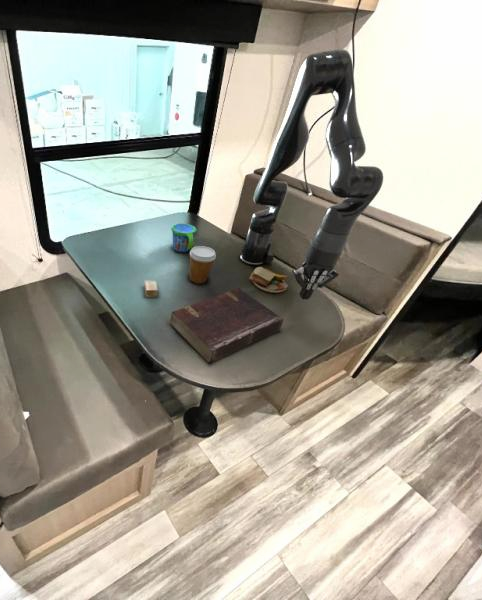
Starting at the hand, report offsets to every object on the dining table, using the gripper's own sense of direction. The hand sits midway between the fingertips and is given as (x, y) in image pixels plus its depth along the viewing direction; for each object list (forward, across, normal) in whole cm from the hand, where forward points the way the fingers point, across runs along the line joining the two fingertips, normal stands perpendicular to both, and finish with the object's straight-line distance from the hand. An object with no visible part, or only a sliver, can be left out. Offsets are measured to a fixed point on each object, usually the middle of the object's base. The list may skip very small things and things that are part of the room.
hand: (303, 297), depth 94 cm
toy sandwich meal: (+12, -2, -24) cm, 27 cm away
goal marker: (+11, +43, -19) cm, 49 cm away
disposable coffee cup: (+12, +24, -28) cm, 39 cm away
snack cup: (+11, +26, -53) cm, 60 cm away
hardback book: (+12, +22, 0) cm, 25 cm away
